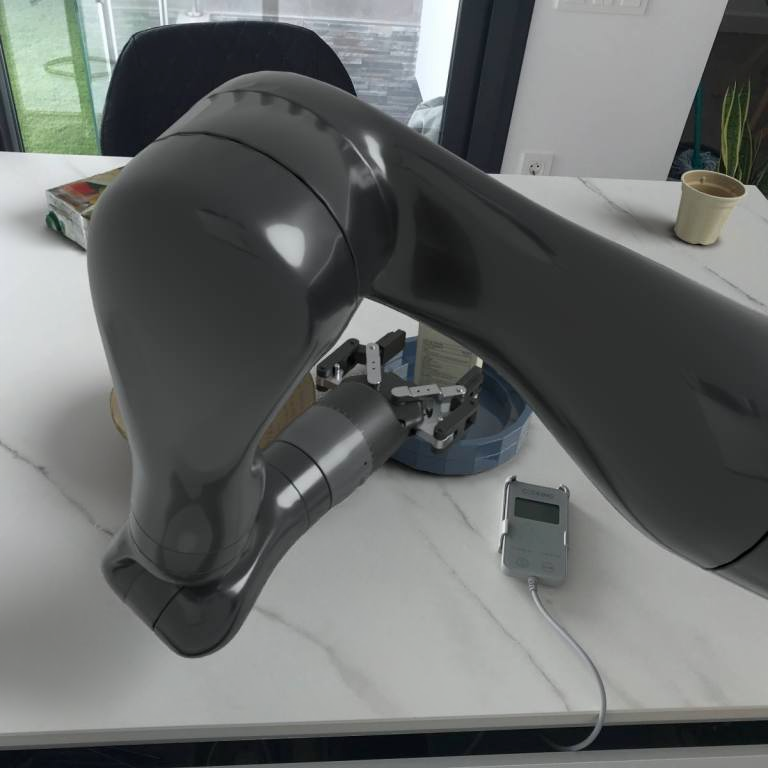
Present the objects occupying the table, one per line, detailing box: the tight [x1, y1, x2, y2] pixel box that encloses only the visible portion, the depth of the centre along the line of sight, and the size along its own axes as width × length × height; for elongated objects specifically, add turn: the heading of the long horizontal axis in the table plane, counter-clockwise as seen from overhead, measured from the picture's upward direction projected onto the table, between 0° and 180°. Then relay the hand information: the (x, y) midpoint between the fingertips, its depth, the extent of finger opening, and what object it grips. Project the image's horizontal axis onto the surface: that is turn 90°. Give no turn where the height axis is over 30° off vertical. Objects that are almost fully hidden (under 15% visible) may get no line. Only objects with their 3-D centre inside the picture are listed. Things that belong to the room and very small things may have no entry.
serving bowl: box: [361, 335, 534, 476], centre depth 80 cm, size 18×18×4 cm
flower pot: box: [673, 169, 749, 246], centre depth 116 cm, size 9×9×9 cm
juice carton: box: [45, 165, 125, 251], centre depth 107 cm, size 20×10×6 cm, turn 138°
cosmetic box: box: [414, 322, 483, 423], centre depth 78 cm, size 6×4×12 cm
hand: (439, 355), depth 73 cm, fingers open, 8 cm apart
